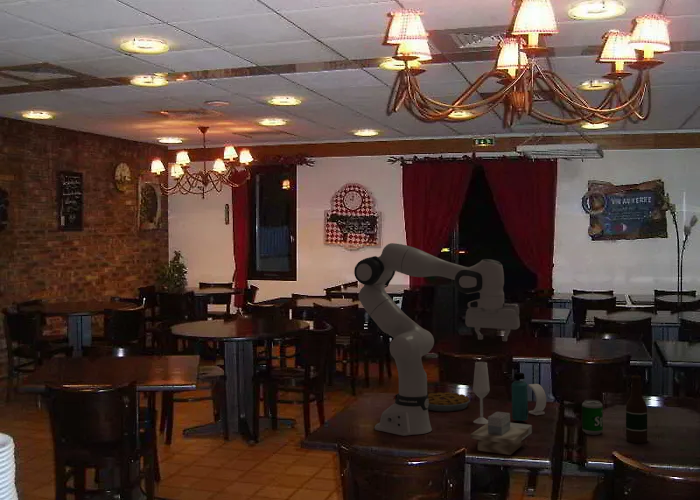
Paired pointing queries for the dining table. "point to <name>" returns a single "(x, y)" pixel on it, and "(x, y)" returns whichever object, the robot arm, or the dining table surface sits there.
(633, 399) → the beer bottle
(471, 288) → the robot arm
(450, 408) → the pie
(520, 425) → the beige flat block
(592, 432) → the soda can
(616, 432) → the dining table surface
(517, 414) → the beverage bottle
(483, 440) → the serving riser
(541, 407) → the headphone stand
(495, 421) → the block
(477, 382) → the champagne flute
